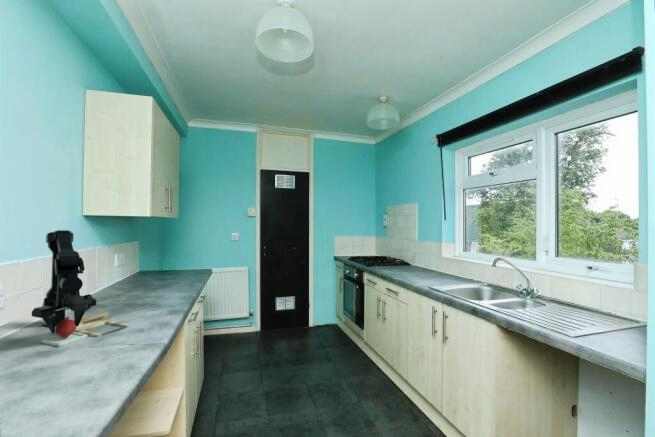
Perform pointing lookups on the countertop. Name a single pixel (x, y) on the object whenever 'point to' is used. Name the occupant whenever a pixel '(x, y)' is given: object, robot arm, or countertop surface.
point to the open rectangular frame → (97, 323)
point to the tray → (61, 341)
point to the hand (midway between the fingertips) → (65, 329)
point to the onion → (65, 328)
